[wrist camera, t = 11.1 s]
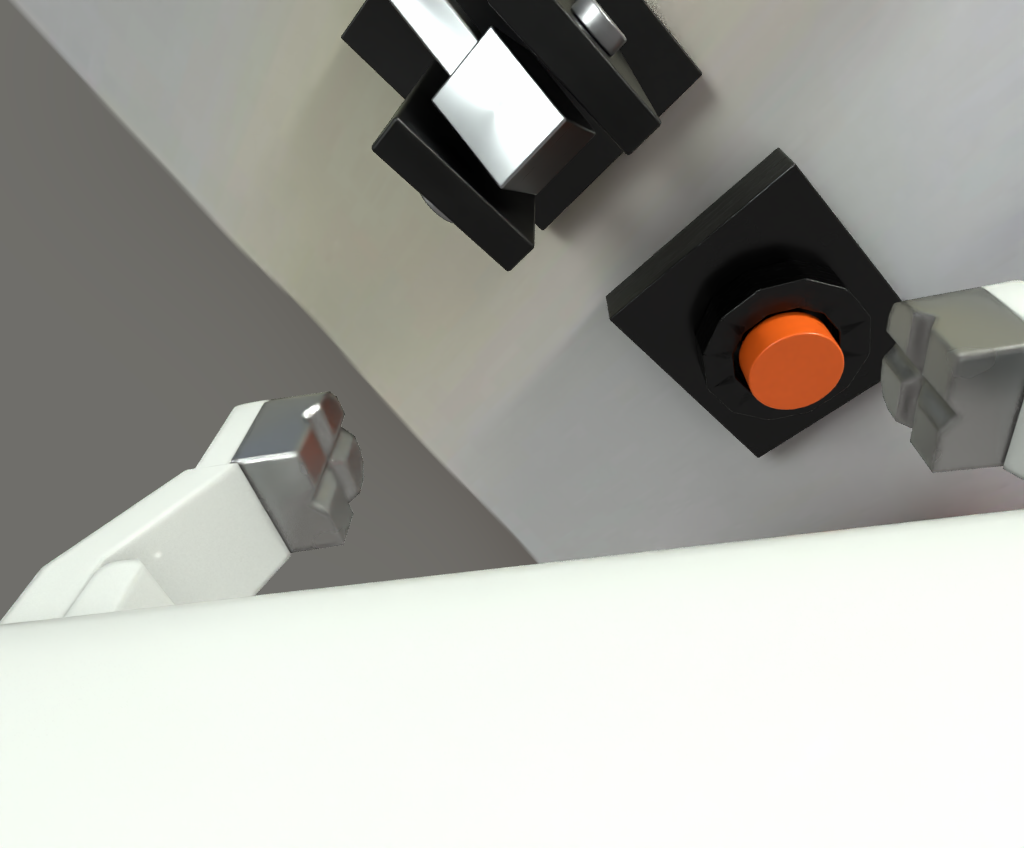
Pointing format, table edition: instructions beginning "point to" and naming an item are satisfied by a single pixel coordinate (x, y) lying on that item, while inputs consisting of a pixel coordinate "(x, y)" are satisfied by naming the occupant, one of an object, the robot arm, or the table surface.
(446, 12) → the lever
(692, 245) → the button block
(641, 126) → the switch bracket
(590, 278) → the table surface
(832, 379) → the button
